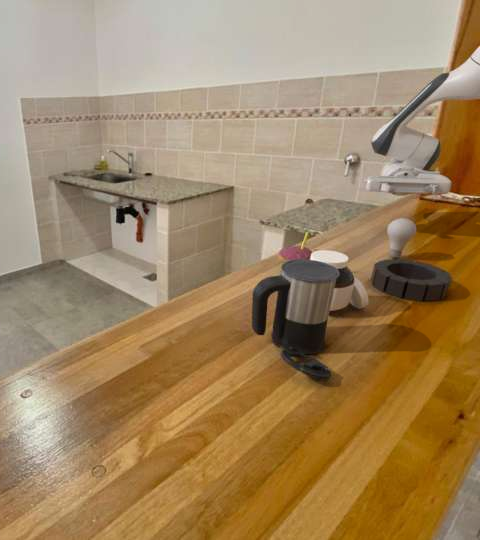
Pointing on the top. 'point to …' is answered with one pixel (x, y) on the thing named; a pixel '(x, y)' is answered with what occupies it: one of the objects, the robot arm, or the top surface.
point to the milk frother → (298, 311)
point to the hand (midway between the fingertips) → (410, 190)
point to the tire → (411, 280)
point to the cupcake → (295, 252)
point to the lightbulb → (400, 235)
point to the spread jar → (342, 282)
